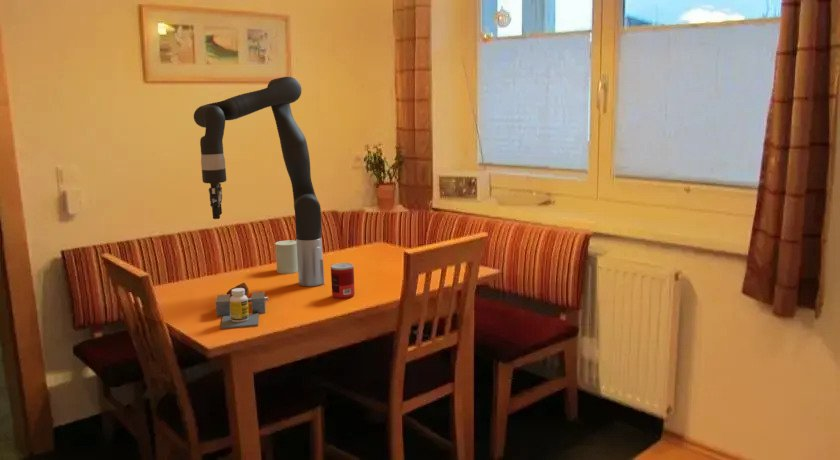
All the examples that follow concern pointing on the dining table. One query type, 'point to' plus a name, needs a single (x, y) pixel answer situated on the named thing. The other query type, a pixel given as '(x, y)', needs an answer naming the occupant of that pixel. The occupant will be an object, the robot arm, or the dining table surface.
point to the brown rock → (239, 287)
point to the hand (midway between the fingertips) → (217, 216)
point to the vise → (257, 301)
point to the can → (286, 256)
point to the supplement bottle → (239, 305)
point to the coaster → (230, 324)
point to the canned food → (342, 280)
